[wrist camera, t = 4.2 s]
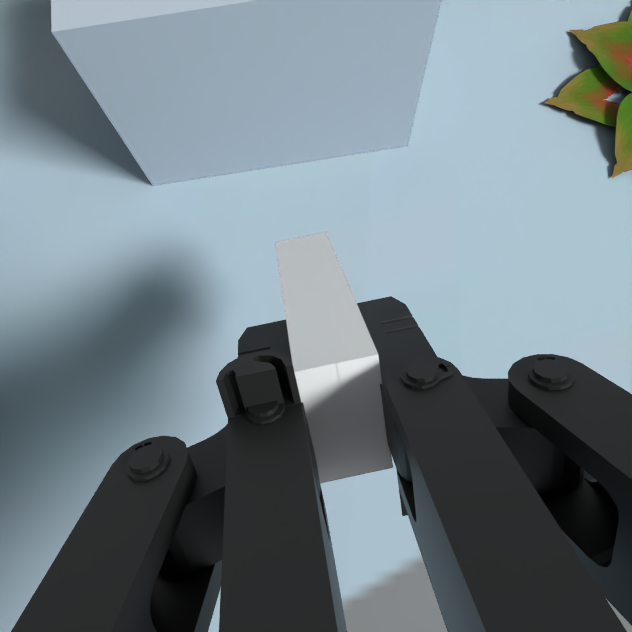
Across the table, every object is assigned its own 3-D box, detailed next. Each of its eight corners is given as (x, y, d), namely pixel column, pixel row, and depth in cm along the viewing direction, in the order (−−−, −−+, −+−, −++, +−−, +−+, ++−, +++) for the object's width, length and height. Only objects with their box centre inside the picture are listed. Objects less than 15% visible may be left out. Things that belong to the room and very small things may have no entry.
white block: (375, 13, 26) (395, -208, 18) (407, 147, 24) (447, -29, 15) (143, 48, 26) (48, -156, 18) (153, 187, 24) (51, 31, 15)
